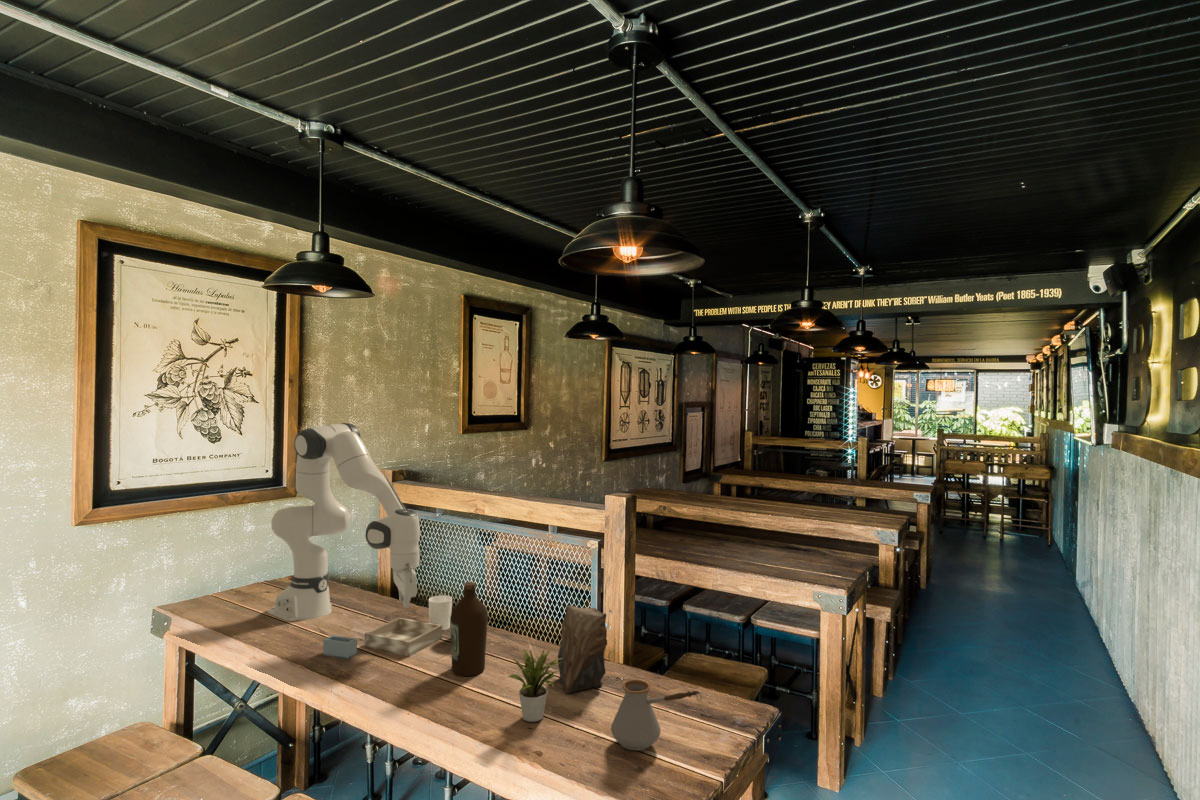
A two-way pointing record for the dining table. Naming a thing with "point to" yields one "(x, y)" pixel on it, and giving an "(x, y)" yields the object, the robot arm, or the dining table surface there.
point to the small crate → (340, 646)
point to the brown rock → (582, 649)
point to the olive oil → (468, 634)
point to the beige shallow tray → (403, 636)
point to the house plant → (534, 686)
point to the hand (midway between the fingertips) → (404, 604)
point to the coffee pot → (639, 716)
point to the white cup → (440, 610)
